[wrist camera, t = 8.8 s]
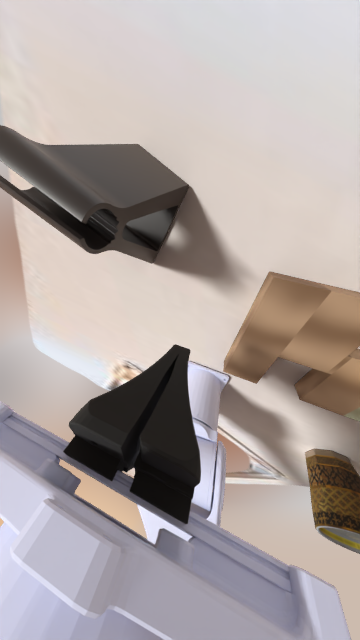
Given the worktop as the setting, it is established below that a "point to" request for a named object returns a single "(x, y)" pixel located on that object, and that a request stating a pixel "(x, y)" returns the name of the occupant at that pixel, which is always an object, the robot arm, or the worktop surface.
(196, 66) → the worktop surface
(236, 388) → the worktop surface
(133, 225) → the phone stand
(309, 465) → the ceramic cup
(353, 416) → the box
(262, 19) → the worktop surface
